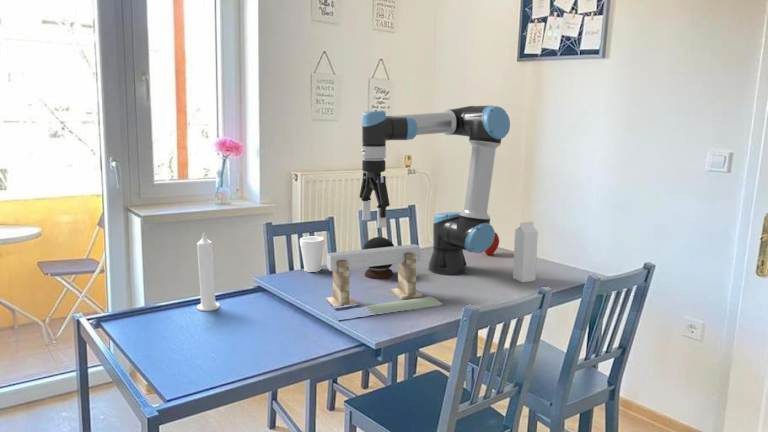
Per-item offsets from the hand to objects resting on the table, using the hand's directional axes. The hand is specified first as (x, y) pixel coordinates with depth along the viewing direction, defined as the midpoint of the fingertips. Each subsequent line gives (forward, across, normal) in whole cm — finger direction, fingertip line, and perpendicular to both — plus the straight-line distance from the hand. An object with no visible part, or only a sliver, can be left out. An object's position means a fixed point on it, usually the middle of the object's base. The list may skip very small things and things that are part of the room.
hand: (373, 223), depth 189 cm
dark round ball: (+26, -25, +12) cm, 38 cm away
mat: (+26, +11, 0) cm, 28 cm away
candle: (+27, -13, -53) cm, 60 cm away
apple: (+26, -34, +68) cm, 81 cm away
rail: (+14, 0, 0) cm, 14 cm away
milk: (+26, +2, +60) cm, 66 cm away
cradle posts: (+26, 0, 0) cm, 26 cm away
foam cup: (+26, -41, -10) cm, 50 cm away
